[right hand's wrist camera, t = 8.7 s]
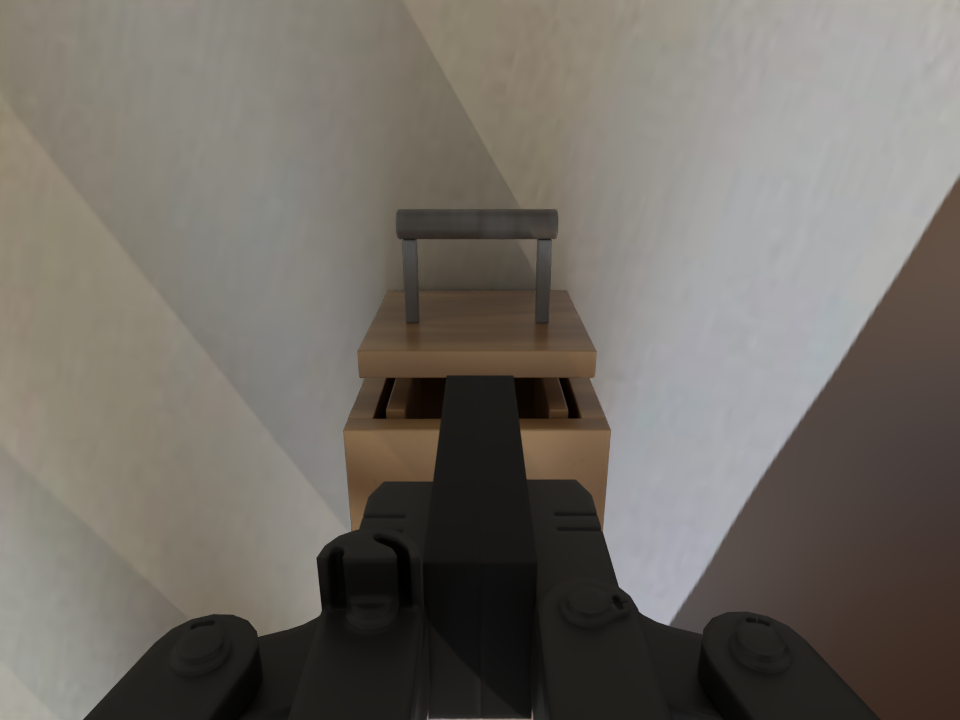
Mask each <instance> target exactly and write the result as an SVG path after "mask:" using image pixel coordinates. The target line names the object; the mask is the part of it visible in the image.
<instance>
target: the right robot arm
mask: <svg viewBox="0 0 960 720" xmlns="http://www.w3.org/2000/svg"><path fill="white" fill-rule="evenodd" d="M317 567H318V576H319V586H320V595H321V605H322V612H321V615H320V616H319V617H317V618H315V619H313V620H311V621H309V622H308V623H306V624H304V625H301V626H298V627H295V628H292V629H289V630H285V631H281V632H277V633H272V634H268V635H264V636H260V637H258V636H257V631H256V630H255V629H254V628H253V626H252V625H251V624H250V623H249V621H247V620H245V619H242V618H240V617H237V616H235V615H221V614H213V615H208V616H204V617H200V618H195V619H192V620H190V621H188V622H186V623H183V624H181V625H179V626H177V627H175V628H173V629H171V630H170V631H169V632H168V633H167V634H165V635H164V636H163V637H162V638H160V639H159V640H158V641H157V642H155V643H154V645H153V646H152V647H151V648H150V649H149V650H148V651H147V652H146V653H145V654H144V655H143V656H142V657H141V658H140V659H139V661H138V662H137V663H136V664H135V665H134V666H133V667H132V668H131V669H130V670H129V671H128V672H127V673H126V674H125V676H124V677H123V678H122V679H121V680H120V681H119V682H118V683H117V684H116V685H115V686H114V687H113V688H112V689H111V690H110V692H109V693H108V694H107V695H106V696H105V697H104V698H103V699H102V700H101V701H100V702H99V703H98V704H97V705H96V707H95V708H94V709H93V710H92V711H91V712H90V713H89V714H88V715H87V716H86V717H85V718H84V719H83V720H427V716H428V719H532V713H533V720H880V719H879V718H878V716H877V715H876V714H875V713H874V712H873V711H872V710H871V709H870V708H869V707H868V706H867V705H866V704H865V703H864V702H863V701H862V699H861V698H860V697H859V696H858V695H857V694H856V693H855V692H854V691H853V690H852V689H851V688H850V687H849V686H848V685H847V684H846V683H845V681H844V680H843V679H842V678H841V677H840V676H839V675H838V674H837V673H836V672H835V671H834V670H833V669H832V668H831V667H830V665H829V664H828V663H827V662H826V661H825V660H824V659H823V658H822V657H821V656H820V655H819V654H818V653H817V652H816V651H815V650H814V648H813V647H812V646H811V645H810V644H809V643H808V642H807V641H806V640H805V639H804V638H802V637H801V636H800V635H799V634H797V633H796V632H795V631H794V630H792V629H791V628H790V627H789V626H787V625H785V624H783V623H781V622H779V621H776V620H774V619H772V618H770V617H768V616H764V615H759V614H755V613H751V612H727V613H724V614H722V615H719V616H717V617H714V618H712V619H711V621H710V622H709V623H708V624H707V625H706V627H705V628H704V629H703V635H702V634H698V633H694V632H690V631H686V630H682V629H678V628H674V627H670V626H667V625H664V624H661V623H658V622H656V621H654V620H652V619H650V618H648V617H646V616H644V615H642V614H641V613H640V612H639V611H638V608H637V607H636V605H635V603H634V602H633V600H632V598H631V597H630V596H629V595H628V594H627V593H626V592H624V591H623V590H622V589H620V588H619V586H618V583H617V579H616V576H615V572H614V569H613V566H612V562H611V559H610V555H609V552H608V548H607V545H606V542H605V538H604V535H603V531H601V525H600V521H599V518H598V516H597V511H596V508H595V504H594V501H593V497H592V495H591V494H590V493H589V492H588V491H587V490H586V489H585V488H584V487H583V486H582V485H581V484H580V483H579V482H578V481H577V480H576V479H527V478H526V470H525V462H524V454H523V446H522V439H521V431H520V423H519V415H518V407H517V400H516V392H515V384H514V376H513V375H447V376H446V384H445V392H444V400H443V407H442V415H441V423H440V431H439V439H438V446H437V454H436V462H435V470H434V478H433V481H384V482H383V483H382V484H381V485H380V486H379V487H378V488H377V489H376V490H375V491H374V492H373V493H372V494H371V495H370V496H369V497H368V500H367V503H366V507H365V510H364V514H363V518H362V521H361V524H360V527H359V530H355V531H352V532H349V533H346V534H343V535H341V536H338V537H337V538H335V539H334V540H333V541H331V542H330V543H328V544H327V545H325V546H324V548H323V549H322V551H321V552H320V554H319V555H318V557H317Z"/></svg>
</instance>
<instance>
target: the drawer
mask: <svg viewBox="0 0 960 720" xmlns="http://www.w3.org/2000/svg"><path fill="white" fill-rule="evenodd" d="M396 233H397V237H398V239H403V241H402V249H403V273H404V291H388V292H387V294H386V296H385V298H384V300H383V302H382V304H381V306H380V308H379V310H378V312H377V314H376V316H375V318H374V320H373V322H372V324H371V326H370V328H369V330H368V332H367V334H366V336H365V338H364V340H363V342H362V344H361V346H360V348H359V350H358V365H359V377H360V378H396V380H395V383H394V386H393V389H392V393H391V396H390V399H389V402H388V406H387V409H386V419H441V415H442V407H443V400H444V392H445V384H446V376H447V375H513V376H514V384H515V392H516V400H517V407H518V415H519V419H568V408H567V405H566V401H565V398H564V395H563V391H562V388H561V384H560V381H559V378H594V377H595V367H596V349H595V347H594V345H593V343H592V341H591V339H590V337H589V335H588V333H587V331H586V329H585V327H584V325H583V323H582V321H581V319H580V317H579V315H578V313H577V310H576V308H575V306H574V304H573V302H572V300H571V298H570V296H569V294H568V292H567V291H550V281H551V255H552V240H551V239H556V237H557V234H558V212H557V210H555V209H399V210H397V213H396ZM417 239H537V264H536V291H419V286H418V257H417Z"/></svg>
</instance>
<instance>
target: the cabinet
mask: <svg viewBox="0 0 960 720" xmlns="http://www.w3.org/2000/svg"><path fill="white" fill-rule="evenodd" d="M395 380H396V378H365V380H364V382H363V384H362V387H361V389H360V391H359V394H358V396H357V398H356V401H355V403H354V406H353V408H352V410H351V413H350V415H349V417H348V421H347V423H346V425H345V428H344V430H343V433H344V445H345V457H346V469H347V481H348V493H349V505H350V517H351V529H352V531H355V530H359V527H360V524H361V521H362V518H363V514H364V510H365V507H366V503H367V500H368V497H369V496H370V495H371V494H372V493H373V492H374V491H375V490H376V489H377V488H378V487H379V486H380V485H381V484H382V483H383V482H384V481H433V478H434V470H435V462H436V454H437V446H438V439H439V431H440V423H441V419H386V409H387V406H388V402H389V399H390V396H391V393H392V389H393V386H394V383H395ZM559 381H560V384H561V388H562V391H563V395H564V398H565V401H566V405H567V408H568V419H519V423H520V431H521V439H522V446H523V454H524V462H525V470H526V478H527V479H576V480H577V481H578V482H579V483H580V484H581V485H582V486H583V487H584V488H585V489H586V490H587V491H588V492H589V493H590V494H591V495H592V497H593V501H594V504H595V508H596V511H597V516H598V518H599V521H600V525H601V531H603V523H604V510H605V498H606V485H607V473H608V460H609V447H610V435H611V429H610V427H609V425H608V422H607V420H606V417H605V415H604V412H603V410H602V407H601V405H600V402H599V400H598V398H597V395H596V393H595V390H594V388H593V386H592V383H591V381H590V378H559ZM427 720H533V713H532V719H428V716H427Z"/></svg>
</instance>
